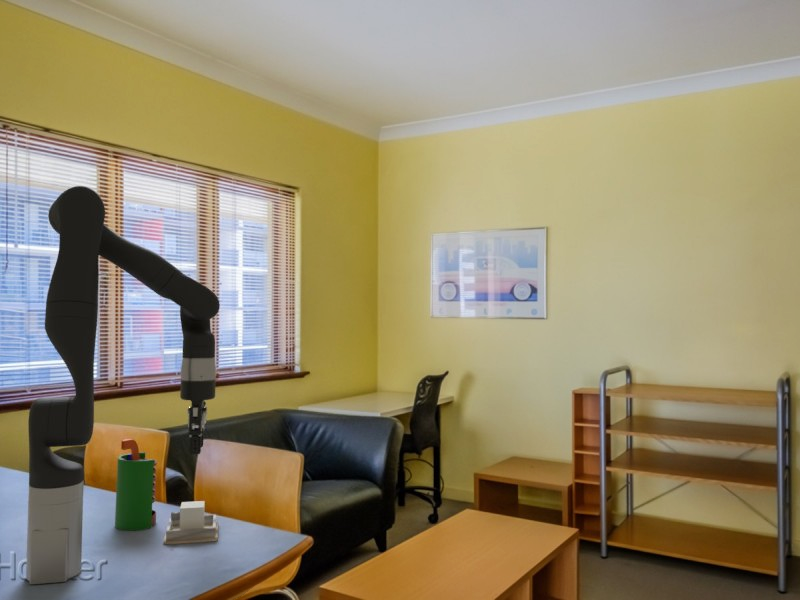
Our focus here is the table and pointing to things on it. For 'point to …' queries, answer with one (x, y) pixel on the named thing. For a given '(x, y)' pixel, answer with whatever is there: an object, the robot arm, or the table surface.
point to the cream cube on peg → (190, 515)
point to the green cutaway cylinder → (135, 489)
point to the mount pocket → (192, 532)
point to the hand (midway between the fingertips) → (196, 450)
